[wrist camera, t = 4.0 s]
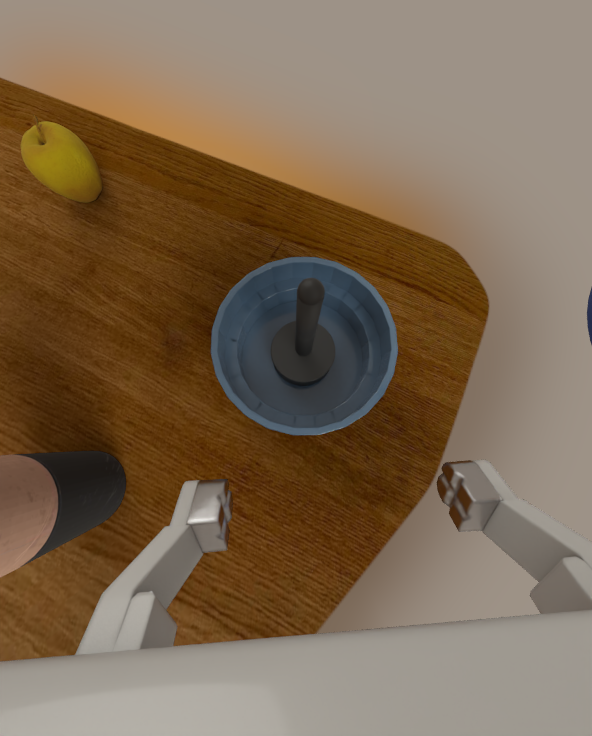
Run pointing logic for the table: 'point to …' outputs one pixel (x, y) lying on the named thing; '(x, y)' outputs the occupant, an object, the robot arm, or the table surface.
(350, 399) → the bowl
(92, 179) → the yellow fruit
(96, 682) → the robot arm
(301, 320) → the joystick
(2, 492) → the travel mug
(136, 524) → the table surface
